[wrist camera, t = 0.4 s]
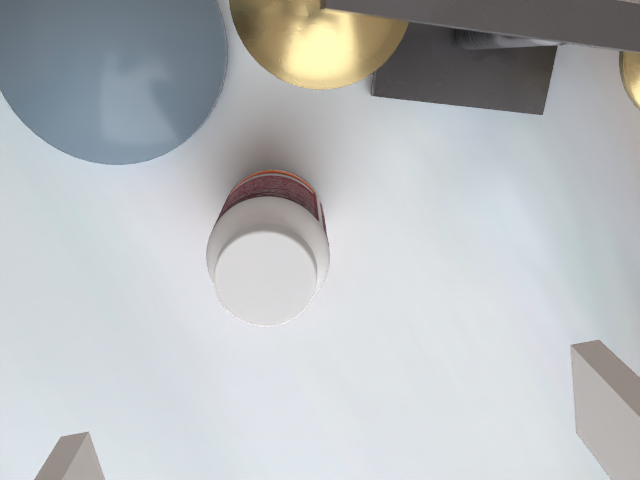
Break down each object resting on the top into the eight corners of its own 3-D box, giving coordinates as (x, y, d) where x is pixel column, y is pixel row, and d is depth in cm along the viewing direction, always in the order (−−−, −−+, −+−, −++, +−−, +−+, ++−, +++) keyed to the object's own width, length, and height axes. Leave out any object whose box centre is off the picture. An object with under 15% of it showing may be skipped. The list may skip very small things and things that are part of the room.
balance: (246, 81, 35) (207, 98, 20) (257, -70, 33) (222, -181, 18) (651, 126, 37) (901, 174, 21) (688, -15, 34) (997, -74, 19)
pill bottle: (204, 201, 37) (167, 257, 26) (289, 148, 36) (285, 185, 26) (259, 281, 39) (245, 364, 28) (342, 232, 38) (358, 299, 27)
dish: (0, 149, 36) (-10, 152, 34) (-10, -94, 32) (-22, -100, 31) (220, 171, 36) (217, 175, 35) (235, -63, 33) (232, -67, 32)
